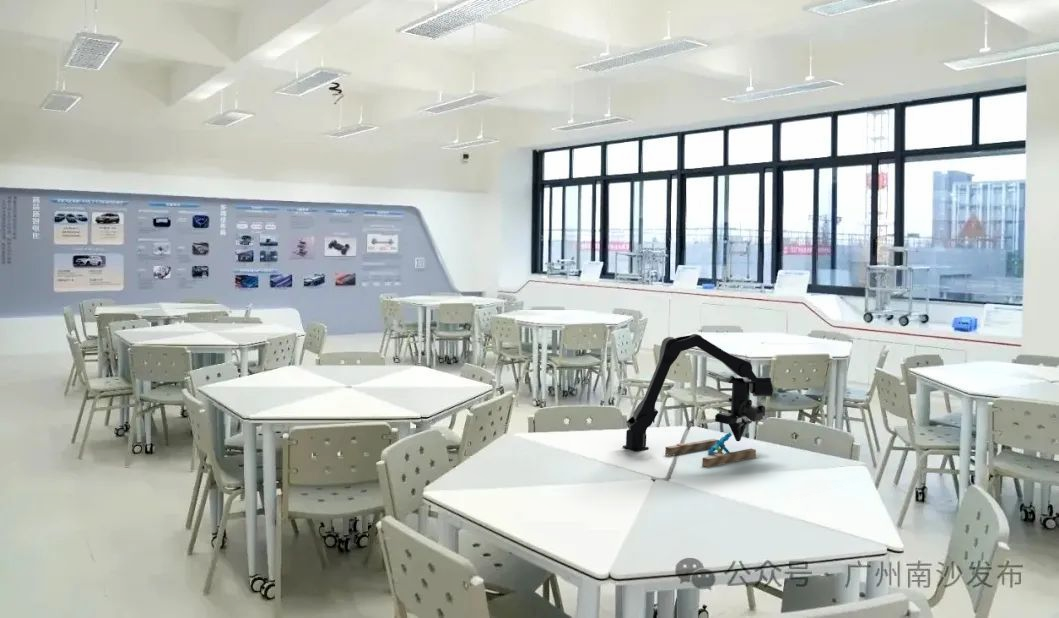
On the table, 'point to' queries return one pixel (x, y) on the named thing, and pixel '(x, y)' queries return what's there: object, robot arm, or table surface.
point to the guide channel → (711, 459)
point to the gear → (720, 445)
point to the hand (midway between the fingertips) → (738, 441)
